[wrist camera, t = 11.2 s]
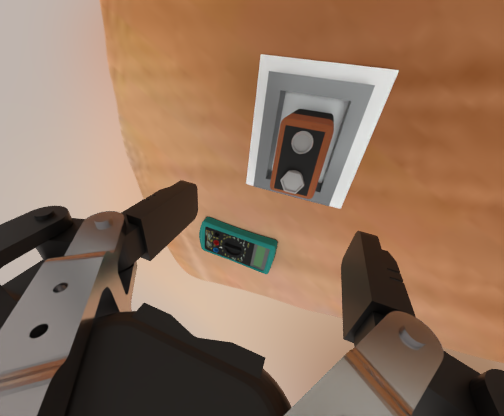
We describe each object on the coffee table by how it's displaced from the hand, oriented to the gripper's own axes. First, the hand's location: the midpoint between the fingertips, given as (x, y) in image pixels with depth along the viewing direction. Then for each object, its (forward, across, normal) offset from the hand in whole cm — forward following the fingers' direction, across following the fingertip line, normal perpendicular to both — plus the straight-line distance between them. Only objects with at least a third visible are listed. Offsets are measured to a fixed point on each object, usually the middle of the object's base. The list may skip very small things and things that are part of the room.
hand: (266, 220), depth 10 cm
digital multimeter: (+20, +8, +21) cm, 31 cm away
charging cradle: (+20, 0, 0) cm, 20 cm away
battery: (+19, 0, 0) cm, 19 cm away
